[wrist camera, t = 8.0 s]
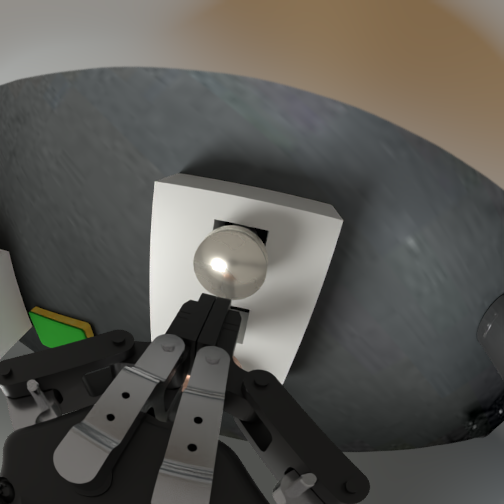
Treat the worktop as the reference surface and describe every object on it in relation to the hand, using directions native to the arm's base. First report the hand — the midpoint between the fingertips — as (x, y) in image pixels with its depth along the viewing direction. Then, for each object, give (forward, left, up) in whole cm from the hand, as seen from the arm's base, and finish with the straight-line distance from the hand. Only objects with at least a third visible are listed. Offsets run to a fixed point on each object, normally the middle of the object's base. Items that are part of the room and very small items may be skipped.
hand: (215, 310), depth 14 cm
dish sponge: (+26, +23, -13) cm, 37 cm away
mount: (0, +7, -12) cm, 14 cm away
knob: (0, 0, -10) cm, 10 cm away
